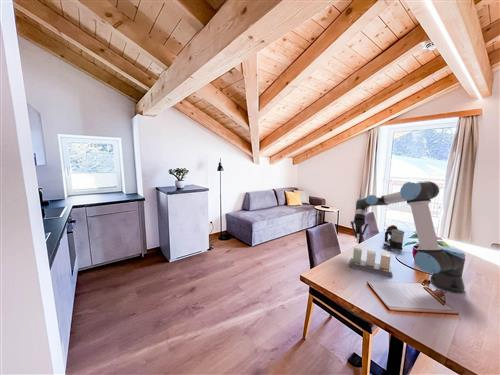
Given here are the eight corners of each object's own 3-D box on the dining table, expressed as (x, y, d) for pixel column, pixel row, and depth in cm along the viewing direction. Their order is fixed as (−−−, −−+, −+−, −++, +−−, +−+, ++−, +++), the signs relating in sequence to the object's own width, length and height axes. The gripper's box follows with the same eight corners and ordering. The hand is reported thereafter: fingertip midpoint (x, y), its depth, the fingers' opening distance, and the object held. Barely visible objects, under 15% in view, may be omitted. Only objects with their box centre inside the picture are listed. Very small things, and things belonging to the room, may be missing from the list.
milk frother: (402, 246, 183) (404, 230, 181) (403, 253, 170) (405, 236, 168) (383, 243, 191) (384, 227, 189) (383, 249, 177) (384, 232, 175)
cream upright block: (366, 262, 151) (367, 250, 149) (374, 263, 148) (375, 251, 147) (366, 264, 147) (367, 252, 145) (374, 266, 144) (375, 254, 143)
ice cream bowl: (402, 242, 192) (403, 226, 190) (389, 242, 193) (391, 226, 191) (394, 238, 203) (396, 223, 201) (382, 238, 203) (384, 223, 201)
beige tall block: (379, 265, 147) (381, 252, 145) (388, 266, 144) (389, 254, 143) (380, 267, 143) (381, 255, 141) (389, 269, 140) (390, 257, 139)
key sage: (353, 259, 155) (354, 247, 153) (360, 260, 152) (361, 249, 151) (352, 261, 151) (353, 249, 149) (360, 263, 148) (361, 251, 147)
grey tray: (350, 259, 157) (351, 255, 157) (390, 268, 146) (390, 264, 145) (349, 267, 147) (350, 262, 146) (392, 277, 135) (393, 272, 134)
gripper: (368, 219, 171) (366, 246, 159) (351, 217, 177) (348, 242, 165) (369, 214, 165) (367, 241, 153) (351, 212, 172) (348, 238, 159)
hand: (357, 242), depth 159 cm, fingers closed
